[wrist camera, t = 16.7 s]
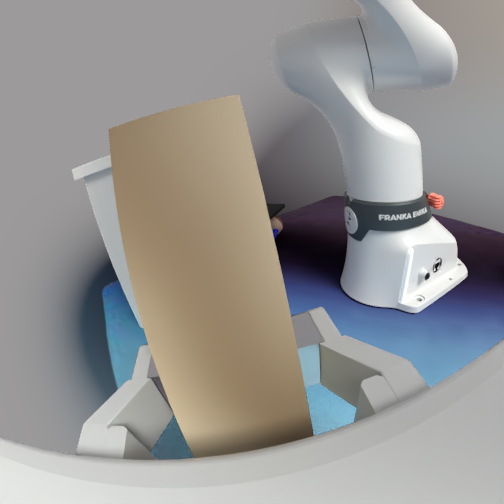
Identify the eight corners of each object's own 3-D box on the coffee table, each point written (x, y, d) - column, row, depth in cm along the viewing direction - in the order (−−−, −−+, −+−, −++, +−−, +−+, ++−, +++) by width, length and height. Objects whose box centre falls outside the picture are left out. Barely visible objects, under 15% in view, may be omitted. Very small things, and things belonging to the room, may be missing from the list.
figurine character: (263, 266, 56) (291, 229, 66) (254, 233, 52) (285, 200, 63) (235, 264, 59) (266, 229, 70) (225, 232, 55) (259, 200, 66)
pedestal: (215, 260, 59) (185, 137, 48) (219, 316, 41) (170, 135, 30) (153, 274, 58) (117, 157, 48) (134, 332, 40) (71, 169, 29)
